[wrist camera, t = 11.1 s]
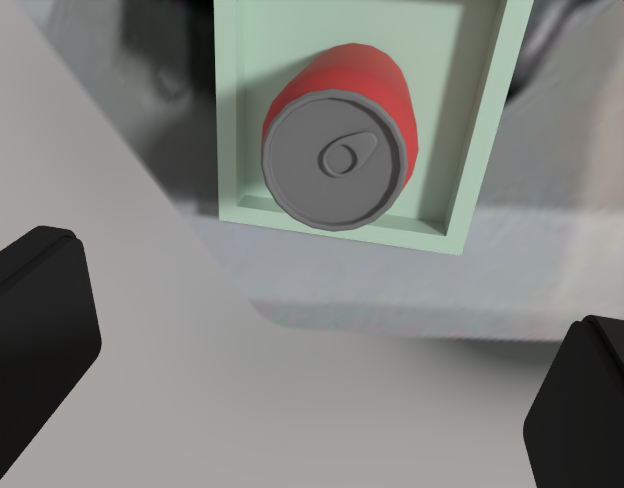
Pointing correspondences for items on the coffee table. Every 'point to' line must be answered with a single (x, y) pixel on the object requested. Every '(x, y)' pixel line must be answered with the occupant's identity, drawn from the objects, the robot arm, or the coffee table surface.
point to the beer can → (340, 139)
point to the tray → (422, 87)
